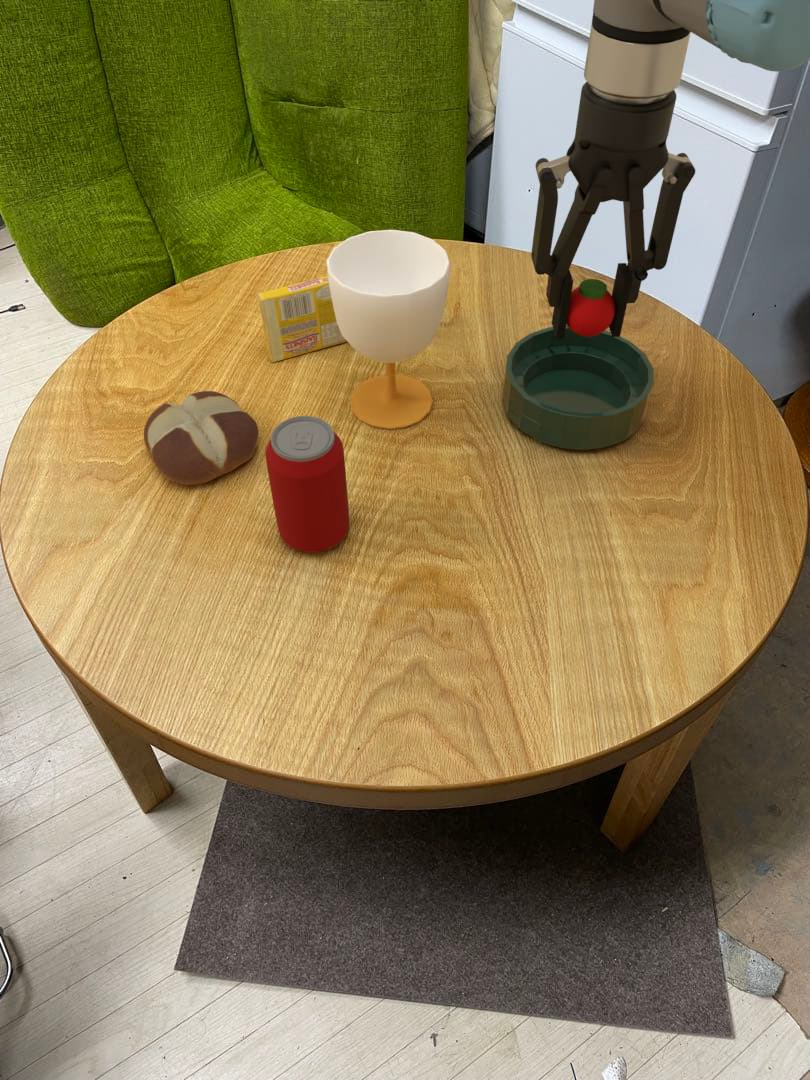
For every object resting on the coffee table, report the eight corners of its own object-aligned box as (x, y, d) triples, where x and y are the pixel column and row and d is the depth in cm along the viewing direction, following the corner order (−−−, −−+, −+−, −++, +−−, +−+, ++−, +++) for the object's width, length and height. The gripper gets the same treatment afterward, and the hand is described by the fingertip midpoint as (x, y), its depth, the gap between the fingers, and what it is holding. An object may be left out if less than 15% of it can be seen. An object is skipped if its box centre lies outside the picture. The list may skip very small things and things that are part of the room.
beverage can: (351, 504, 84) (344, 409, 75) (348, 558, 80) (340, 464, 71) (282, 505, 84) (266, 410, 75) (275, 558, 80) (258, 464, 71)
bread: (167, 500, 85) (156, 464, 81) (138, 430, 92) (127, 393, 88) (274, 466, 88) (268, 429, 84) (239, 400, 95) (232, 363, 91)
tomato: (616, 324, 88) (626, 279, 84) (601, 352, 85) (610, 306, 81) (569, 312, 89) (577, 267, 85) (552, 338, 86) (559, 293, 82)
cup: (422, 359, 99) (424, 220, 87) (461, 422, 92) (469, 281, 79) (324, 381, 97) (310, 242, 84) (356, 449, 90) (347, 307, 77)
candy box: (394, 318, 105) (392, 256, 98) (401, 328, 103) (400, 266, 97) (266, 353, 100) (256, 291, 94) (272, 363, 99) (262, 301, 93)
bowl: (660, 384, 96) (670, 347, 92) (619, 471, 87) (629, 434, 83) (532, 348, 101) (536, 311, 97) (480, 427, 92) (483, 390, 88)
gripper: (726, 62, 72) (664, 304, 89) (511, 69, 71) (491, 311, 89) (756, 101, 67) (684, 348, 84) (525, 108, 66) (501, 357, 84)
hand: (585, 329), depth 87 cm, fingers closed on tomato, 5 cm apart
